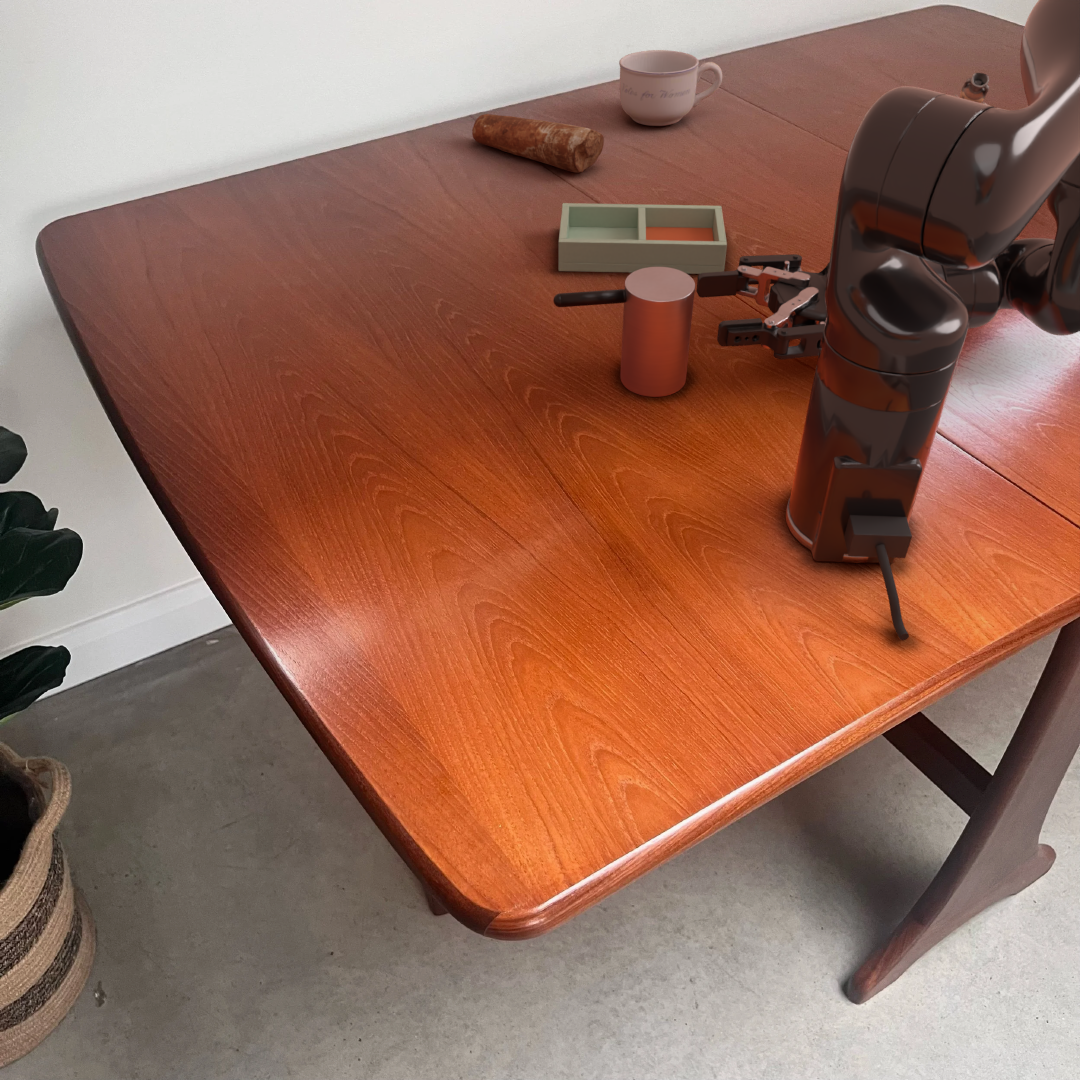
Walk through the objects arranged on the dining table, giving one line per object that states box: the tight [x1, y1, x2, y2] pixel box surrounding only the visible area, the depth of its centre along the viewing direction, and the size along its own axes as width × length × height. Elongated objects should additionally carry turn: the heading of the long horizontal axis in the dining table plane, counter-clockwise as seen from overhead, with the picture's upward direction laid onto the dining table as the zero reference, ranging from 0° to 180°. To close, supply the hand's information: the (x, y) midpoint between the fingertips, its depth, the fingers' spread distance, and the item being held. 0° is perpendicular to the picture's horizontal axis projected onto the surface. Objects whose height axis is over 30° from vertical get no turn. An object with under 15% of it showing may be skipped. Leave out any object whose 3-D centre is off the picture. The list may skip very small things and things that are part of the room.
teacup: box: [618, 49, 723, 127], centre depth 143 cm, size 14×11×8 cm
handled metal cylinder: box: [553, 267, 696, 398], centre depth 95 cm, size 13×6×10 cm, turn 96°
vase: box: [954, 72, 990, 105], centre depth 143 cm, size 5×5×6 cm
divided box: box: [557, 202, 728, 275], centre depth 116 cm, size 9×18×4 cm, turn 86°
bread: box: [471, 113, 605, 174], centre depth 135 cm, size 6×19×6 cm, turn 52°
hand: (707, 309), depth 94 cm, fingers open, 8 cm apart
